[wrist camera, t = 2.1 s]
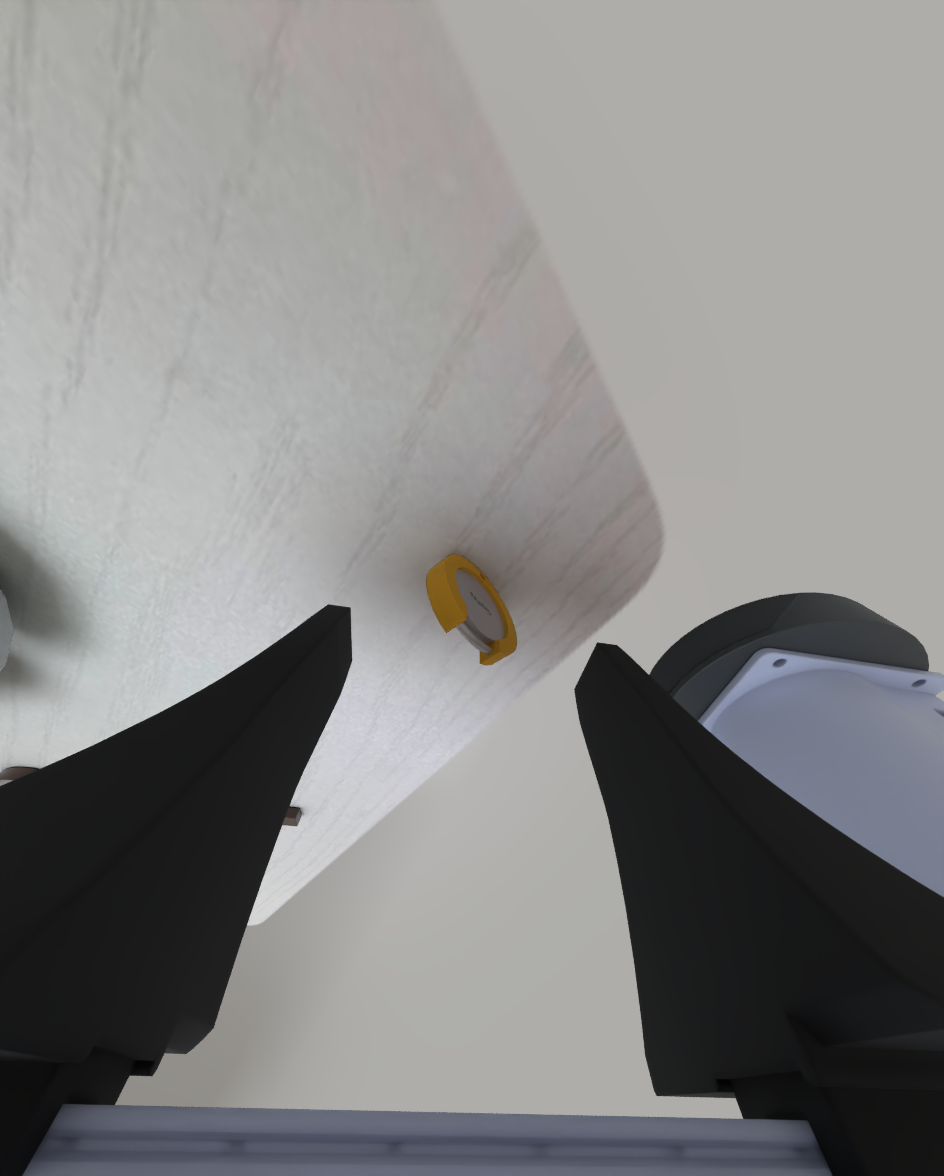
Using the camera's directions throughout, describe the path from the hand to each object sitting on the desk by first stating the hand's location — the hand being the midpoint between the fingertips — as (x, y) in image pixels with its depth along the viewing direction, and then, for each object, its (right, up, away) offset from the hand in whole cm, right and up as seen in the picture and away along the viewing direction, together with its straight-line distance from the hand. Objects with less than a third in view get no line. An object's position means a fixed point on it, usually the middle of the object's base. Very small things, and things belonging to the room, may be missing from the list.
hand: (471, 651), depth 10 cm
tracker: (0, +2, +4) cm, 4 cm away
